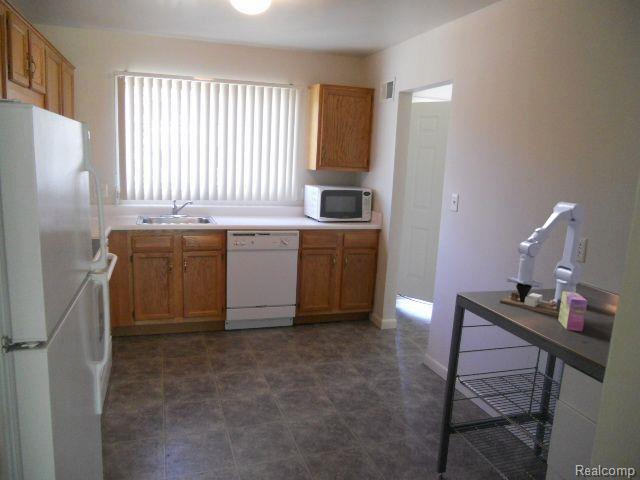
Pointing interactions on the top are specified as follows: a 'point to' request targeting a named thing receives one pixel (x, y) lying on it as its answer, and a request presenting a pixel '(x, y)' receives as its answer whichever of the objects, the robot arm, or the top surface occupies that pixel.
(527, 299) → the sleeve
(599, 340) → the top surface
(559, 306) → the end block
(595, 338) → the top surface
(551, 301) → the stop band
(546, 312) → the guide board
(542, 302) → the guide rod
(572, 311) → the box
